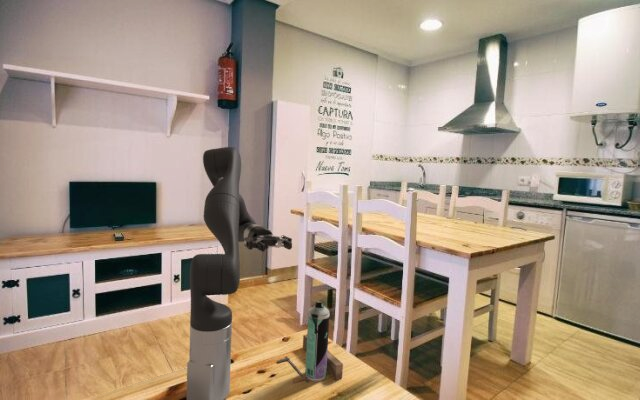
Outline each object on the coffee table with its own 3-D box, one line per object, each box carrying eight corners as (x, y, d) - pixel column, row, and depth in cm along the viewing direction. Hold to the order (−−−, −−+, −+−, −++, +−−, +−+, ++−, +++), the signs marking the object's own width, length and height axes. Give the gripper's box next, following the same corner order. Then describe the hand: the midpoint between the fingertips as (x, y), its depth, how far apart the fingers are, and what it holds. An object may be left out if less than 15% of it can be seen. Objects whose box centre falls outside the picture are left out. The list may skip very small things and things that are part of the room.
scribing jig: (342, 378, 91) (342, 363, 91) (301, 391, 85) (302, 375, 84) (308, 346, 106) (309, 333, 106) (271, 355, 100) (272, 342, 100)
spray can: (326, 382, 89) (330, 306, 87) (304, 380, 89) (308, 304, 87) (326, 370, 94) (330, 298, 93) (305, 368, 94) (309, 296, 93)
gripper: (237, 226, 114) (255, 236, 100) (277, 224, 121) (299, 233, 107) (236, 249, 115) (254, 261, 101) (276, 246, 122) (298, 257, 108)
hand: (277, 247), depth 104 cm, fingers open, 8 cm apart
